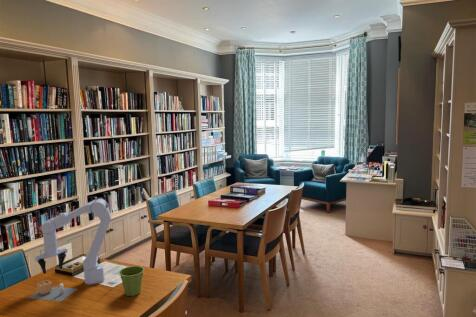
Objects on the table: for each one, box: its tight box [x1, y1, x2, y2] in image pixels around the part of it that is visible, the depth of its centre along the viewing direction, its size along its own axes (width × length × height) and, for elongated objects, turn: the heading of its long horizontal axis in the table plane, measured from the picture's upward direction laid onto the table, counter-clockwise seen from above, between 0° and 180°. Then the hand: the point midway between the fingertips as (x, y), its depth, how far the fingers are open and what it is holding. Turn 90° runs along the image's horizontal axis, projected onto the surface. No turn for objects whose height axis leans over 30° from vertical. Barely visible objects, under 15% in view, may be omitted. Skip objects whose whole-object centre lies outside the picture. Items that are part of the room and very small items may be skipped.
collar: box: [36, 279, 53, 294], centre depth 167 cm, size 5×5×4 cm
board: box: [27, 281, 78, 302], centre depth 166 cm, size 18×12×6 cm, turn 78°
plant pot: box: [118, 265, 145, 297], centre depth 168 cm, size 12×12×11 cm
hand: (52, 270), depth 174 cm, fingers open, 7 cm apart
